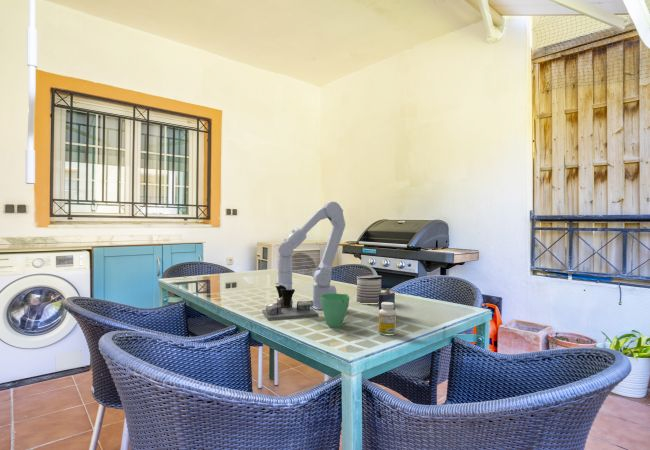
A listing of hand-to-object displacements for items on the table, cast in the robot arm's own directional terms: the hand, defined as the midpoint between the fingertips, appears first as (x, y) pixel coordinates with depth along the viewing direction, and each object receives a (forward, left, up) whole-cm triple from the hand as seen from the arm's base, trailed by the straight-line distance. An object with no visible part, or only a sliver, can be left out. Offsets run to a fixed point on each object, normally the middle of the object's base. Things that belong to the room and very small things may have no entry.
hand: (284, 304), depth 147 cm
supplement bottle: (-23, +43, -2) cm, 49 cm away
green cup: (-12, +28, -2) cm, 31 cm away
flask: (-34, +24, -2) cm, 42 cm away
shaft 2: (-6, +9, -1) cm, 11 cm away
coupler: (0, 0, -2) cm, 2 cm away
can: (-39, -1, -2) cm, 39 cm away
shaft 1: (+7, +11, -1) cm, 13 cm away
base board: (0, +11, -1) cm, 11 cm away
